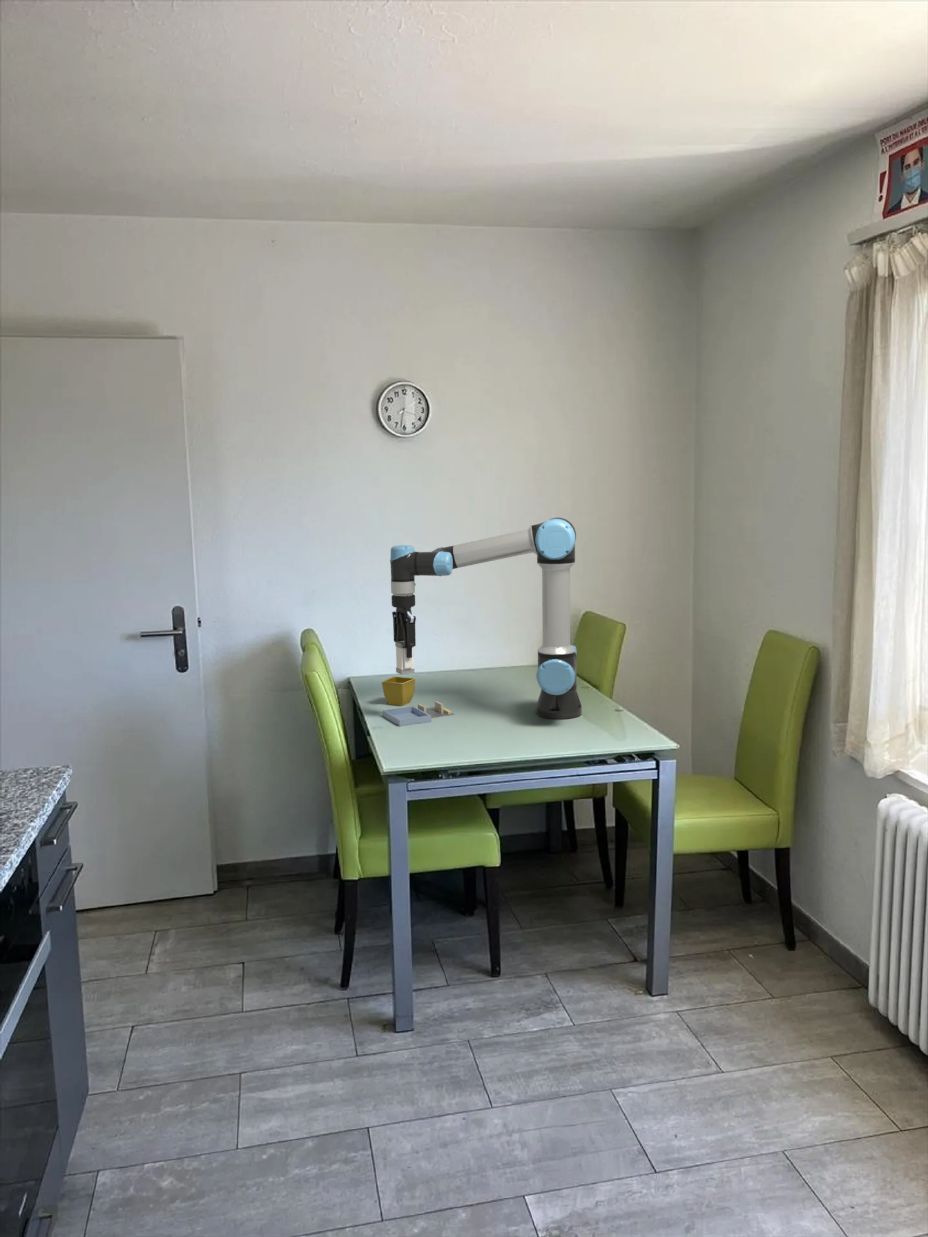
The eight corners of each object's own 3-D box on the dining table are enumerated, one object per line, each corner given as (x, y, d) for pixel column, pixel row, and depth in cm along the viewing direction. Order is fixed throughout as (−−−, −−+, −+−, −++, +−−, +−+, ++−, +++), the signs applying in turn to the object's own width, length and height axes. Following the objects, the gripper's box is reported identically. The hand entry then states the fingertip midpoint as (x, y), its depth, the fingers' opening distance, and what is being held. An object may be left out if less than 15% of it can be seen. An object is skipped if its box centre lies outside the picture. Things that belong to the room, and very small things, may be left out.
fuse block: (454, 715, 300) (454, 705, 300) (427, 720, 296) (427, 709, 295) (439, 707, 311) (438, 697, 310) (412, 711, 306) (412, 701, 306)
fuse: (414, 673, 292) (413, 642, 291) (401, 674, 290) (400, 643, 288) (408, 670, 296) (408, 640, 294) (396, 672, 294) (395, 641, 292)
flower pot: (381, 706, 314) (381, 681, 313) (395, 700, 322) (394, 675, 320) (403, 709, 310) (402, 683, 309) (416, 703, 318) (416, 678, 316)
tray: (431, 723, 292) (431, 715, 291) (399, 728, 287) (399, 720, 287) (413, 713, 304) (413, 706, 304) (382, 717, 299) (382, 710, 299)
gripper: (425, 596, 283) (427, 669, 287) (403, 590, 298) (404, 660, 302) (403, 598, 280) (405, 672, 283) (381, 592, 295) (383, 662, 299)
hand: (405, 665), depth 293 cm, fingers closed on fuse, 4 cm apart
